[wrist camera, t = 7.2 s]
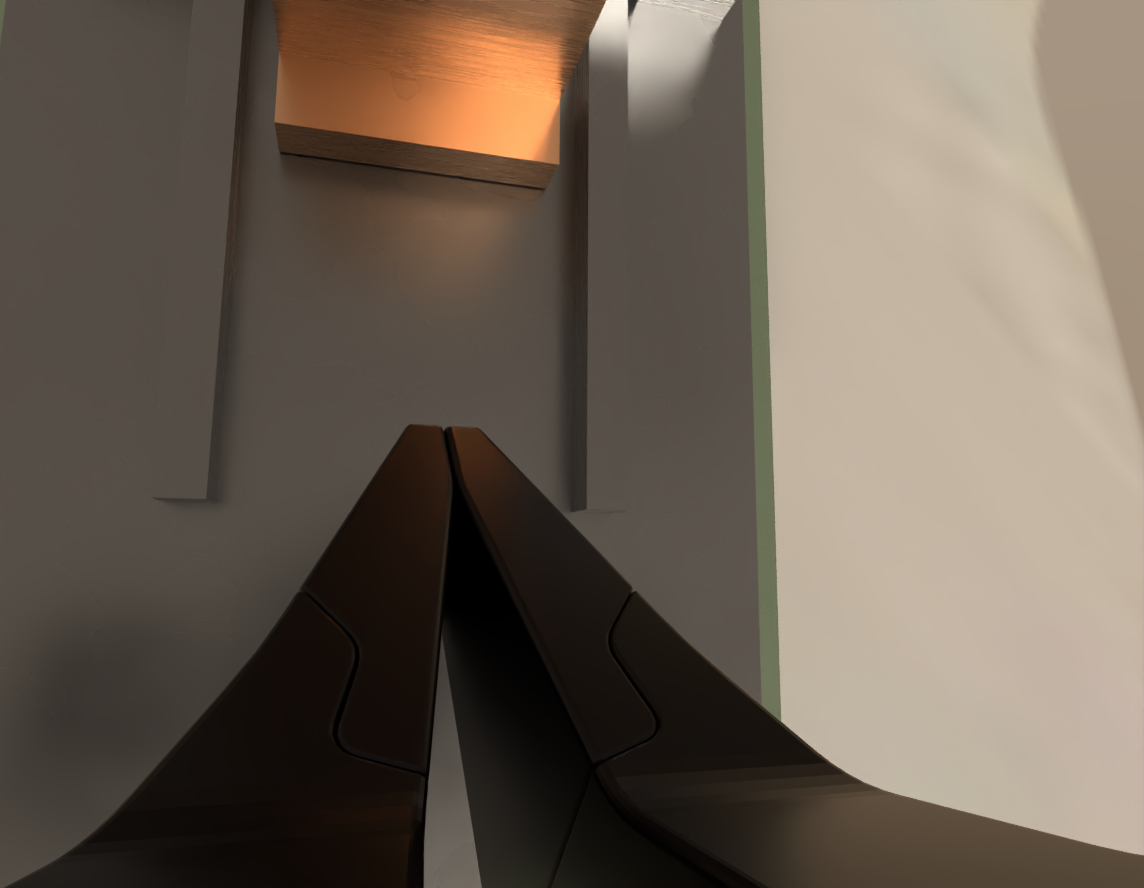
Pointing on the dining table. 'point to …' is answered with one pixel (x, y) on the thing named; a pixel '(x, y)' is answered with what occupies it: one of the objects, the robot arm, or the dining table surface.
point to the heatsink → (348, 367)
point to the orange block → (430, 82)
